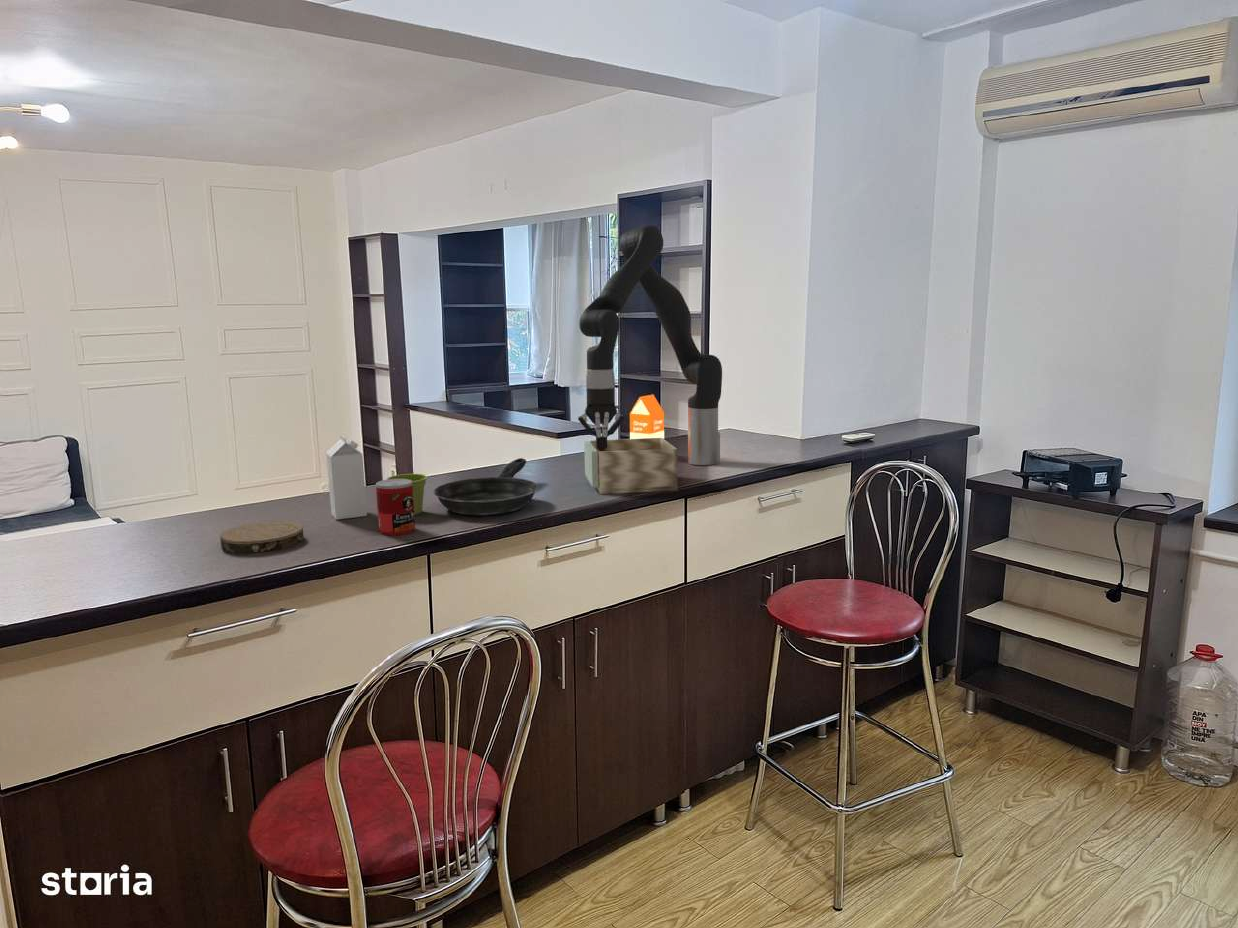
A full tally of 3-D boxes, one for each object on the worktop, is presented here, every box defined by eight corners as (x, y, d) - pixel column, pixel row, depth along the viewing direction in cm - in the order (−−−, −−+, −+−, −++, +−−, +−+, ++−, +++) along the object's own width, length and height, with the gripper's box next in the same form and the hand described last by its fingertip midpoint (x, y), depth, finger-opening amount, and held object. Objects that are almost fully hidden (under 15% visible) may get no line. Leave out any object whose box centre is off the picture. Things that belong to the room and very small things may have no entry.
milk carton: (335, 520, 189) (329, 439, 186) (331, 514, 195) (324, 435, 192) (367, 516, 192) (361, 436, 189) (361, 510, 199) (355, 433, 195)
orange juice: (664, 456, 264) (664, 394, 260) (650, 461, 257) (650, 397, 253) (643, 454, 268) (643, 393, 264) (629, 458, 261) (628, 396, 257)
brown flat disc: (319, 536, 177) (317, 522, 177) (272, 557, 162) (271, 543, 162) (255, 532, 181) (253, 519, 180) (203, 553, 166) (202, 539, 165)
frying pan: (519, 522, 185) (518, 493, 184) (417, 518, 190) (415, 490, 189) (570, 482, 227) (569, 458, 226) (484, 480, 232) (483, 456, 231)
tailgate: (590, 474, 229) (589, 441, 228) (598, 487, 213) (597, 451, 211) (585, 474, 229) (584, 441, 227) (592, 487, 212) (591, 451, 211)
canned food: (397, 537, 174) (393, 487, 172) (371, 532, 178) (367, 483, 176) (423, 529, 180) (420, 480, 178) (397, 524, 185) (394, 477, 183)
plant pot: (437, 512, 195) (435, 477, 194) (402, 520, 189) (400, 483, 187) (415, 506, 202) (412, 472, 200) (381, 513, 195) (378, 478, 193)
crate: (662, 475, 234) (661, 437, 232) (677, 490, 215) (677, 449, 213) (591, 478, 231) (590, 440, 229) (600, 494, 212) (599, 452, 210)
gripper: (622, 384, 221) (623, 447, 224) (574, 385, 219) (575, 449, 222) (627, 386, 214) (628, 452, 217) (577, 388, 212) (578, 454, 215)
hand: (601, 450), depth 220 cm, fingers closed
